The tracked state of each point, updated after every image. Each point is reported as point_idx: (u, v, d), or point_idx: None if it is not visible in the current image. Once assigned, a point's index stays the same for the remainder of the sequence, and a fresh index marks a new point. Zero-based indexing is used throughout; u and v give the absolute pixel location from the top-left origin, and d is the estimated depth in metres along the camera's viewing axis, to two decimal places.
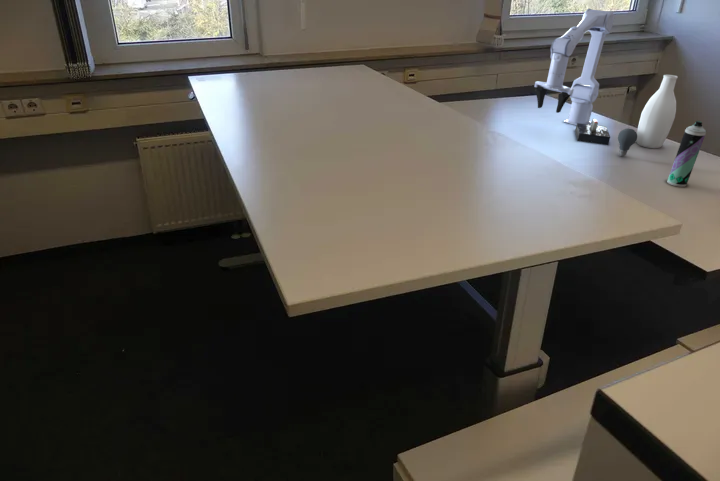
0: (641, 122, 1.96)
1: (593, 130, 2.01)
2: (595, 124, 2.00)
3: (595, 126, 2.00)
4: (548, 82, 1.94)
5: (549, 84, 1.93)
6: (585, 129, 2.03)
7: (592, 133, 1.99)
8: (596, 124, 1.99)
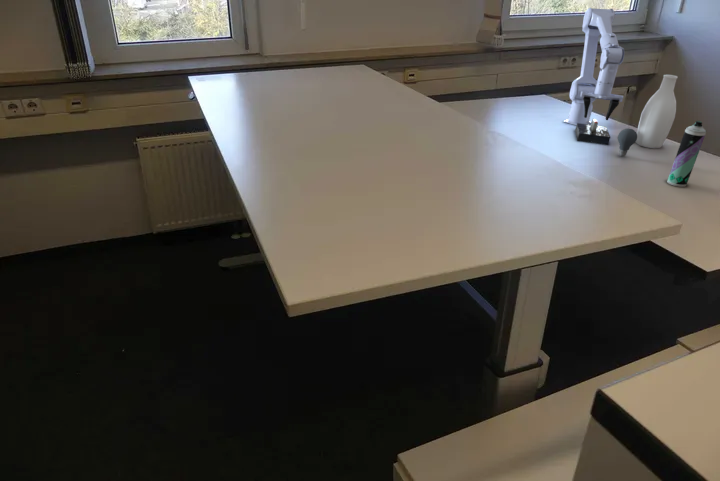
0: (641, 122, 1.96)
1: (593, 130, 2.01)
2: (595, 124, 2.00)
3: (595, 126, 2.00)
4: (600, 92, 1.94)
5: (601, 94, 1.94)
6: (585, 129, 2.03)
7: (592, 133, 1.99)
8: (596, 124, 1.99)
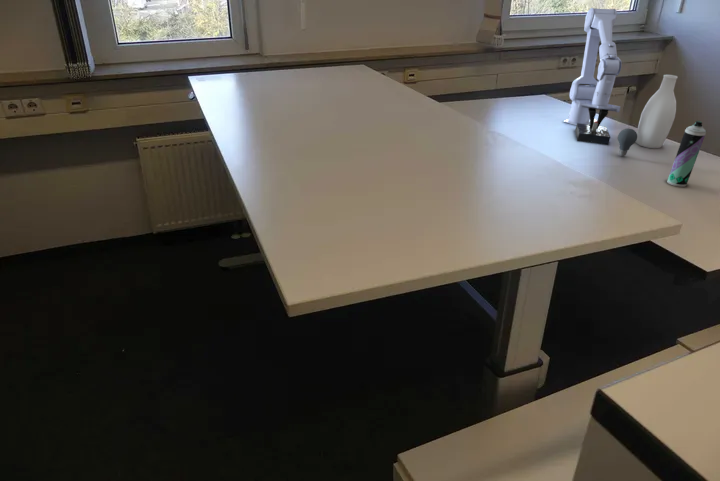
0: (641, 122, 1.96)
1: (593, 130, 2.01)
2: (595, 124, 2.00)
3: (595, 126, 2.00)
4: (597, 102, 1.96)
5: (599, 104, 1.96)
6: (585, 129, 2.03)
7: (592, 133, 1.99)
8: (596, 124, 1.99)
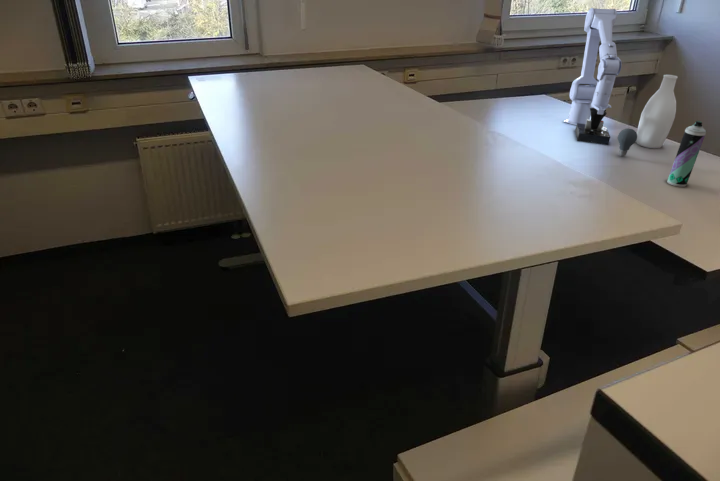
0: (641, 122, 1.96)
1: (601, 129, 2.02)
2: None
3: (602, 125, 2.02)
4: None
5: None
6: (585, 129, 2.03)
7: (592, 133, 1.99)
8: None
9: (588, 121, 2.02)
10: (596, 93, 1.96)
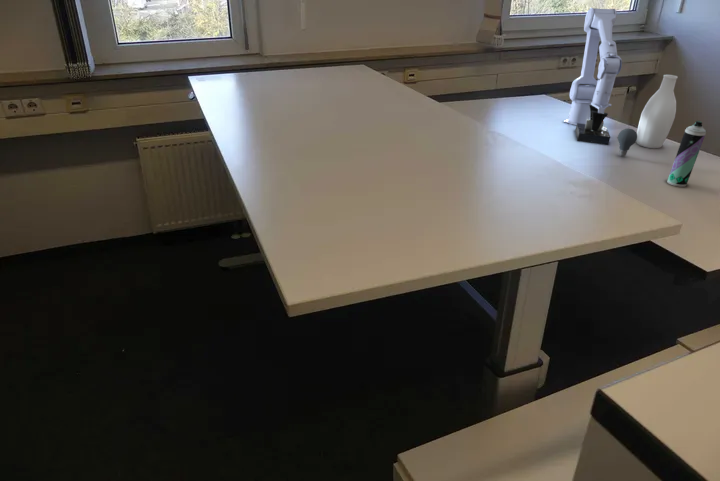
0: (641, 122, 1.96)
1: (601, 129, 2.02)
2: None
3: (602, 125, 2.02)
4: (608, 102, 1.96)
5: None
6: (585, 129, 2.03)
7: (592, 133, 1.99)
8: None
9: (588, 121, 2.02)
10: (596, 92, 1.96)
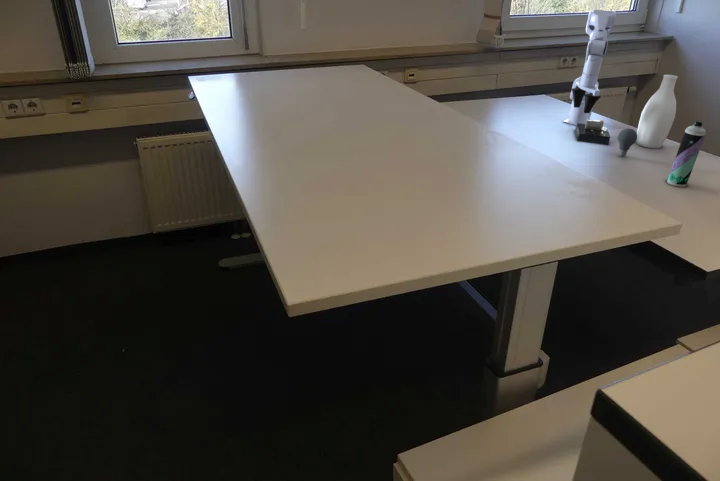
0: (641, 122, 1.96)
1: (601, 129, 2.02)
2: None
3: (602, 125, 2.02)
4: (596, 83, 1.98)
5: None
6: (585, 129, 2.03)
7: (592, 133, 1.99)
8: None
9: (588, 121, 2.02)
10: (586, 75, 1.95)
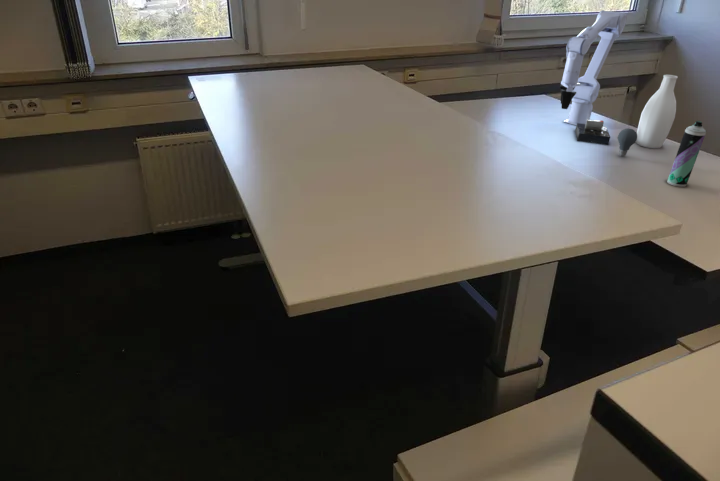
0: (641, 122, 1.96)
1: (601, 129, 2.02)
2: None
3: (602, 125, 2.02)
4: (577, 81, 2.01)
5: (577, 82, 2.02)
6: (585, 129, 2.03)
7: (592, 133, 1.99)
8: None
9: (588, 121, 2.02)
10: (565, 71, 2.00)
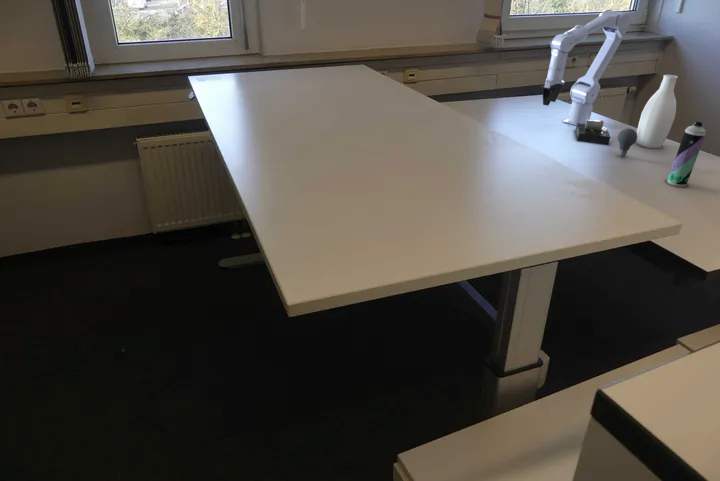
0: (641, 122, 1.96)
1: (601, 129, 2.02)
2: None
3: (602, 125, 2.02)
4: (560, 78, 2.04)
5: (561, 79, 2.04)
6: (585, 129, 2.03)
7: (592, 133, 1.99)
8: None
9: (588, 121, 2.02)
10: (549, 68, 2.04)
